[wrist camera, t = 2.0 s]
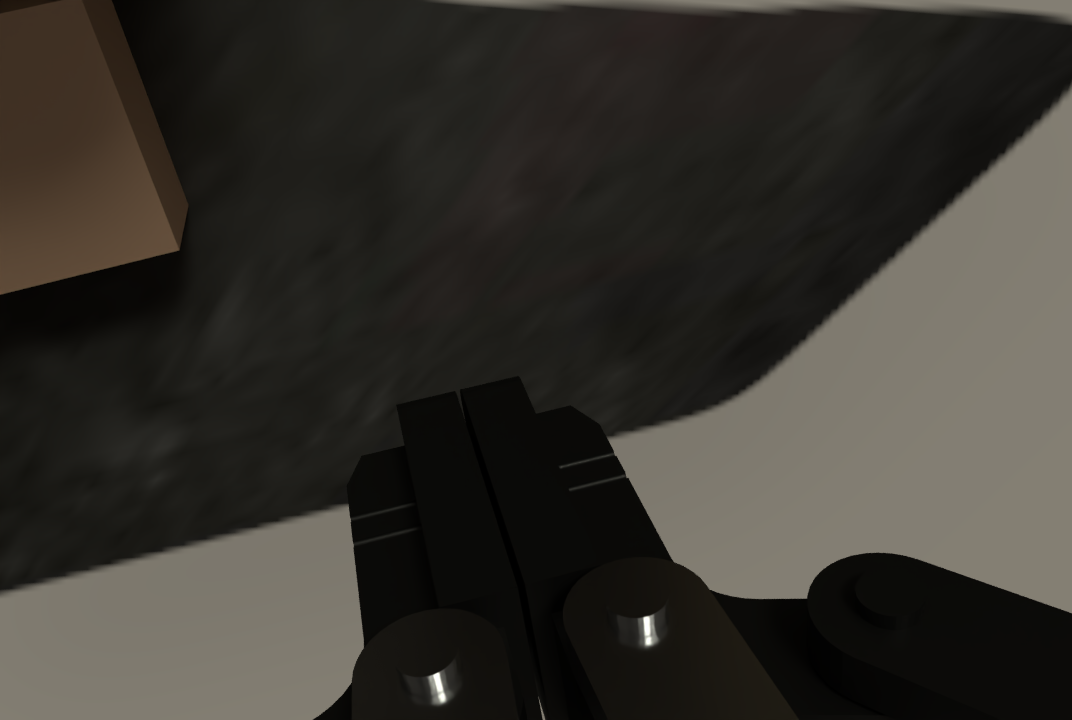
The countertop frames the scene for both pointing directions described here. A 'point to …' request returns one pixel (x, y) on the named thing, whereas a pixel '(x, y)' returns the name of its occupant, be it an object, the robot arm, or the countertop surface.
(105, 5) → the brown rectangular block
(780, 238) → the countertop surface
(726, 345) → the countertop surface
